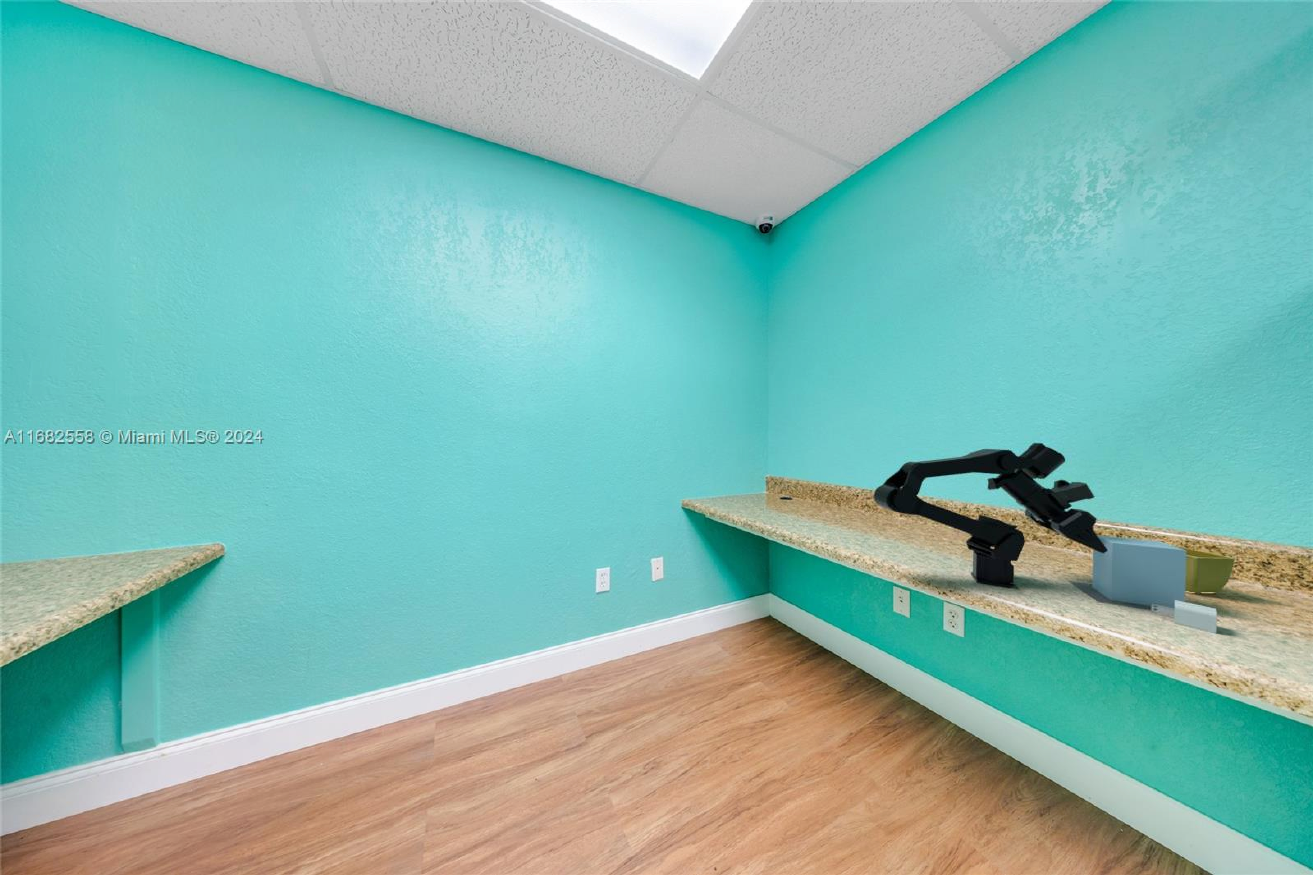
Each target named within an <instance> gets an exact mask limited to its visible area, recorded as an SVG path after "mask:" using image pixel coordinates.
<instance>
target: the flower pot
mask: <svg viewBox="0 0 1313 875" xmlns="http://www.w3.org/2000/svg"><path fill="white" fill-rule="evenodd" d="M1177 547H1178V548H1181V549H1184V550H1186V578H1185V591H1189V592H1195V593H1201V592H1217V593H1218V592H1220V591H1221V590H1222V589H1223V588H1224V587H1225V586H1226V585H1227V584H1228V582H1229V580H1230V578H1231V575H1232V572H1233V568H1234V565H1235V562H1236V558H1234V557H1231V556H1226V555H1223V554H1217V553H1212V552H1206V551H1202V550H1196V549H1192V548H1188V547H1182V546H1177Z"/></svg>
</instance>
